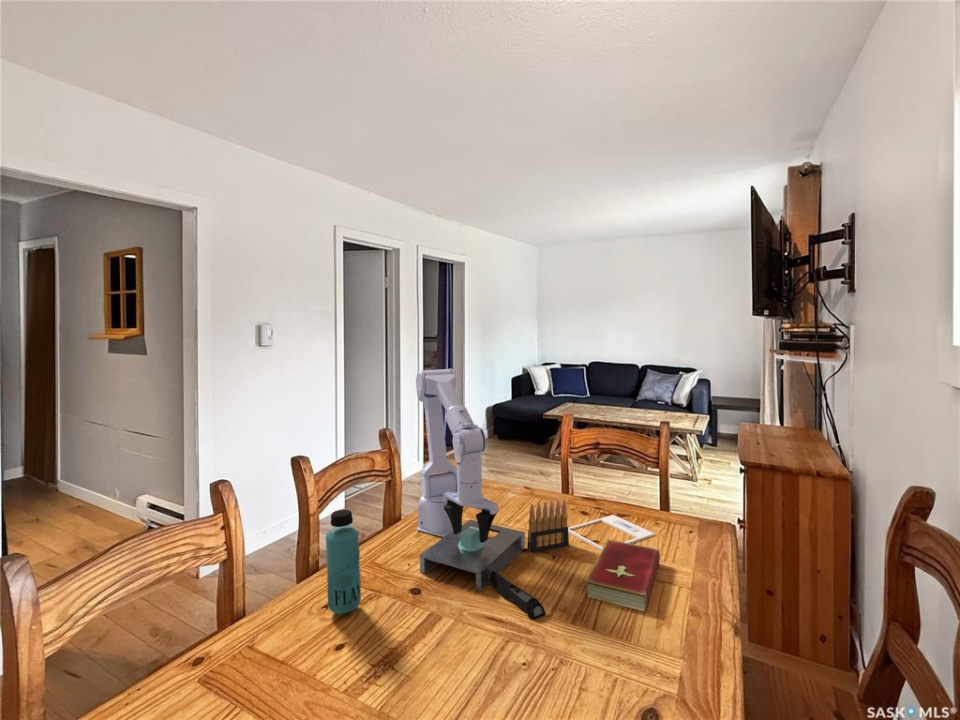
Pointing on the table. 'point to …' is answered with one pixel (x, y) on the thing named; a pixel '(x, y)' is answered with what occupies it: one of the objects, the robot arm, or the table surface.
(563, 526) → the ammunition clip
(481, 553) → the keyhole plate
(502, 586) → the electric trimmer
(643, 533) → the photo frame
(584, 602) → the table surface
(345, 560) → the beverage bottle
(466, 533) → the peg
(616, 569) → the hardcover book
